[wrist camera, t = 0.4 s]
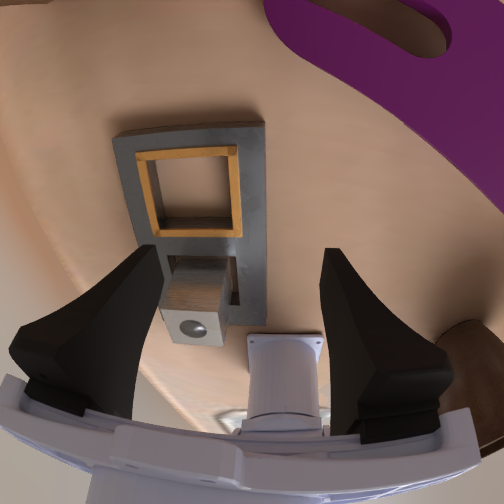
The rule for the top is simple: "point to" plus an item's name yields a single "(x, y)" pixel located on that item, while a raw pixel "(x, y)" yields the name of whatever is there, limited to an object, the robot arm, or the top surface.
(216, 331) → the metal block with hole
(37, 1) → the wooden block
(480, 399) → the plant pot
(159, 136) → the grey holder tray
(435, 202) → the top surface
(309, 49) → the mounting bracket
